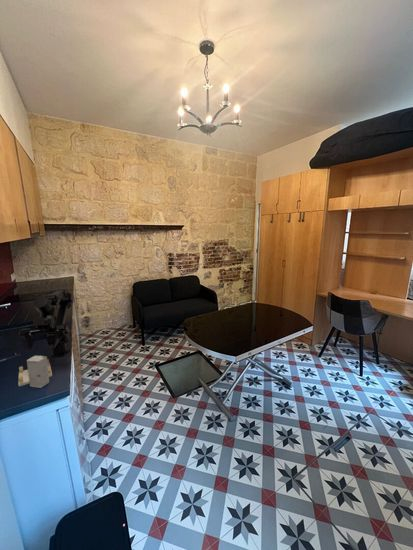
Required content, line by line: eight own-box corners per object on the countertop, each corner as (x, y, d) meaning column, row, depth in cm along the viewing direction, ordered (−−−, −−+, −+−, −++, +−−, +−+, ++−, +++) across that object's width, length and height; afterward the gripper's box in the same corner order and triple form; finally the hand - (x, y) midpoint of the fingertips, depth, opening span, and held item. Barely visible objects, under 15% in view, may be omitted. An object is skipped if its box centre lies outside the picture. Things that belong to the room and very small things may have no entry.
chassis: (19, 373, 109) (18, 367, 108) (50, 364, 116) (49, 358, 115) (18, 386, 99) (17, 379, 99) (52, 375, 106) (51, 368, 106)
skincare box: (29, 387, 99) (24, 360, 97) (38, 380, 103) (34, 355, 101) (42, 388, 98) (37, 361, 96) (50, 381, 102) (46, 355, 100)
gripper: (17, 312, 104) (8, 346, 96) (64, 307, 110) (60, 339, 101) (27, 323, 113) (20, 355, 104) (70, 318, 118) (67, 348, 110)
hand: (42, 349), depth 105 cm, fingers open, 9 cm apart
